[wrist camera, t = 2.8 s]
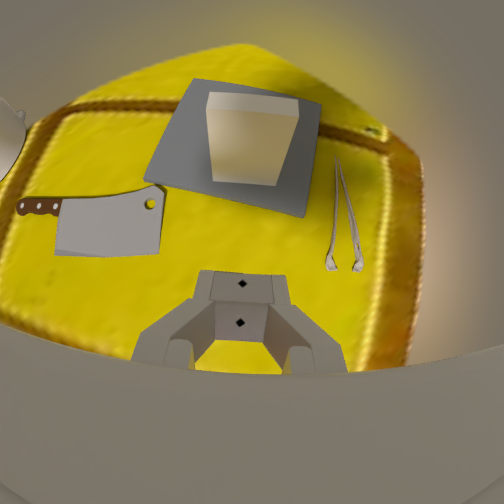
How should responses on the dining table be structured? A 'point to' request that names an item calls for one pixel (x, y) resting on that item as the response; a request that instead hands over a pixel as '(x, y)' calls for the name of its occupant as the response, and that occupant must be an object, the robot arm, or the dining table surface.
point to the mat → (199, 162)
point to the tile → (249, 136)
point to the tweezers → (354, 231)
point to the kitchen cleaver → (103, 223)
